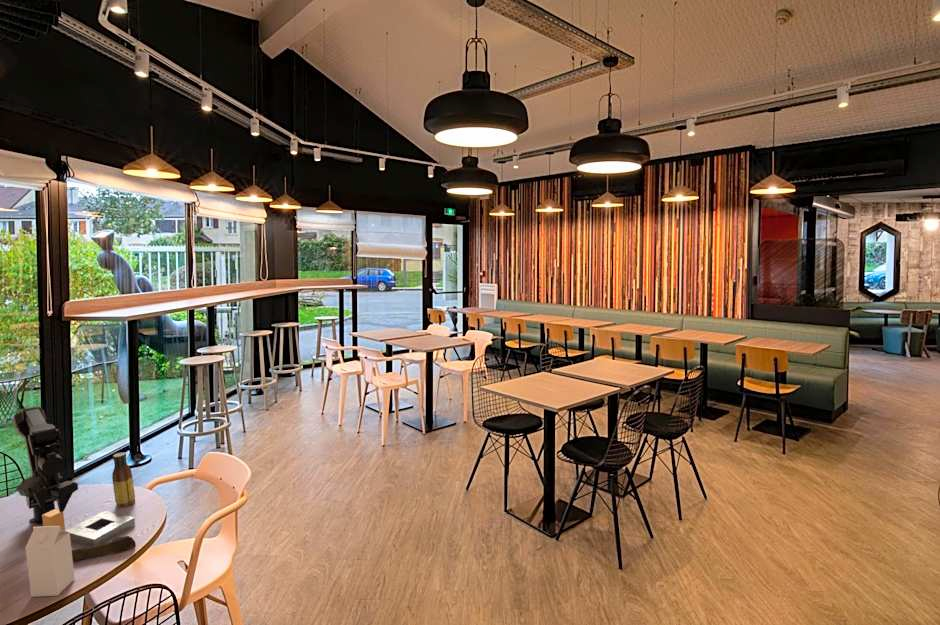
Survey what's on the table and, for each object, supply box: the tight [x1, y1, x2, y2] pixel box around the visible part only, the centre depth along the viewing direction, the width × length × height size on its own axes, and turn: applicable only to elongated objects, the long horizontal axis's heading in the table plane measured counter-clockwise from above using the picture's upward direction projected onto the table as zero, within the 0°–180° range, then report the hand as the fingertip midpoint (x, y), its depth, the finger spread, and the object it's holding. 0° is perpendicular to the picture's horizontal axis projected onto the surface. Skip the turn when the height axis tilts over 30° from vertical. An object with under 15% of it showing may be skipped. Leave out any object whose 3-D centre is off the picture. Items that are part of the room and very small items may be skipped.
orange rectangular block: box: [42, 508, 66, 531], centre depth 175 cm, size 4×4×8 cm
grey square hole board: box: [65, 510, 136, 547], centre depth 177 cm, size 14×14×3 cm
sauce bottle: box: [111, 452, 136, 508], centre depth 194 cm, size 7×6×20 cm
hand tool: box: [71, 535, 137, 562], centre depth 164 cm, size 19×4×5 cm, turn 114°
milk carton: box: [25, 526, 76, 598], centre depth 147 cm, size 7×7×19 cm
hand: (52, 509), depth 174 cm, fingers open, 9 cm apart
